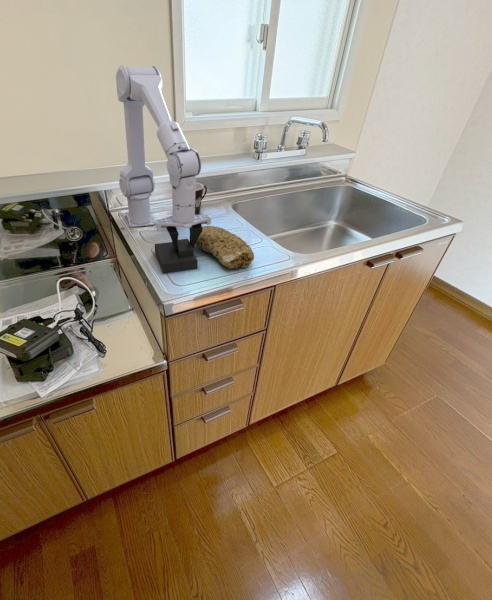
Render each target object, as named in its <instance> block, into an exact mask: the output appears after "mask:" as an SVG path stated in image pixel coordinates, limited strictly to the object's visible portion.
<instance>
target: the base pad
mask: <svg viewBox="0 0 492 600" xmlns="http://www.w3.org/2000/svg"><path fill="white" fill-rule="evenodd" d="M154 254H155V257H156V259H157V262H158V264H159V267H160V269H161V272H162V274H170V273H177V272H184V271H191V270H197V269H198V258H197V256H196V255H194V256H191V257H183V258H179V257H178V255H177V253H176V252H175V251H174V247H173V243H172V241H167V242H159V243H154Z"/></svg>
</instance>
